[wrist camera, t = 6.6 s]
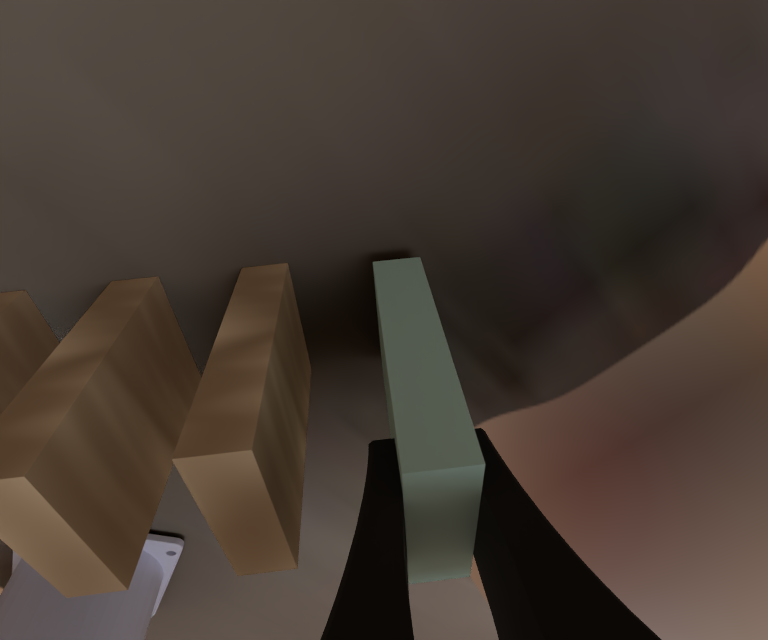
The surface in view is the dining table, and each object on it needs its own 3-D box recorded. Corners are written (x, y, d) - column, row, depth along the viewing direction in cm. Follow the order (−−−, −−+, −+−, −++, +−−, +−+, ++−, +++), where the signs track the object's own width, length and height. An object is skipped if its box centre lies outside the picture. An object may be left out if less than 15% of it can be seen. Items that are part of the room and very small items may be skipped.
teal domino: (420, 257, 15) (485, 464, 8) (421, 365, 18) (470, 576, 11) (372, 261, 15) (401, 473, 8) (382, 369, 18) (409, 584, 11)
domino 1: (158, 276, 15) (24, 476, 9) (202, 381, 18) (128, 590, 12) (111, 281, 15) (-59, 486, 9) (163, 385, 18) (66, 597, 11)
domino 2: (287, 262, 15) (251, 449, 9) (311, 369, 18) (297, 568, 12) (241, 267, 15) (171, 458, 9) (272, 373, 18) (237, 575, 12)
